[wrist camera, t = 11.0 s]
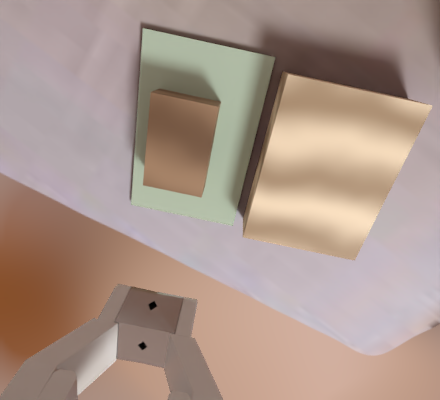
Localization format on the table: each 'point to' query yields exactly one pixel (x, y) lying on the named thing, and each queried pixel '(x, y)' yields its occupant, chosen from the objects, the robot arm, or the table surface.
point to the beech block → (328, 164)
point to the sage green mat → (226, 124)
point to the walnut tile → (179, 141)
